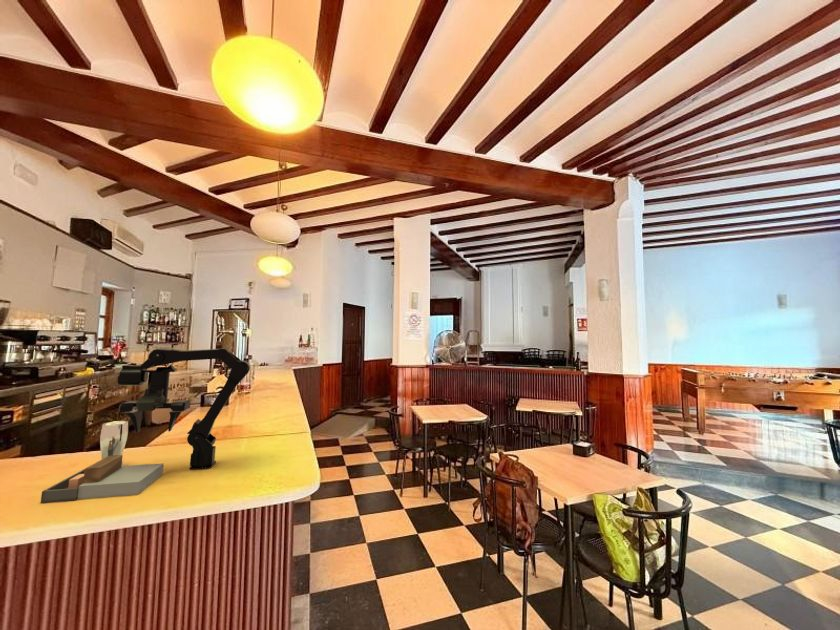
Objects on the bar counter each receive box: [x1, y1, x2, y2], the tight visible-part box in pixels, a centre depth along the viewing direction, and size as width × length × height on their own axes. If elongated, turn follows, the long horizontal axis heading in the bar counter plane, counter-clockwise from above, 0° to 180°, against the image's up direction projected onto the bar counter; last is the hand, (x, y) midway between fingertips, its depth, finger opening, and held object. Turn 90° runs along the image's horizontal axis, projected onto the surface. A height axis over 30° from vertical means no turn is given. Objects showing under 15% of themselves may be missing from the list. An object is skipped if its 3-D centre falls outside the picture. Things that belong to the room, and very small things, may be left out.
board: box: [77, 462, 164, 500], centre depth 100 cm, size 14×15×4 cm
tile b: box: [68, 474, 84, 489], centre depth 95 cm, size 4×4×2 cm
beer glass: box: [99, 420, 129, 466], centre depth 114 cm, size 7×7×15 cm
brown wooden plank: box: [83, 454, 124, 483], centre depth 99 cm, size 4×11×4 cm, turn 16°
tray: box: [40, 468, 85, 504], centre depth 98 cm, size 8×16×3 cm, turn 16°
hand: (153, 431), depth 112 cm, fingers open, 9 cm apart
